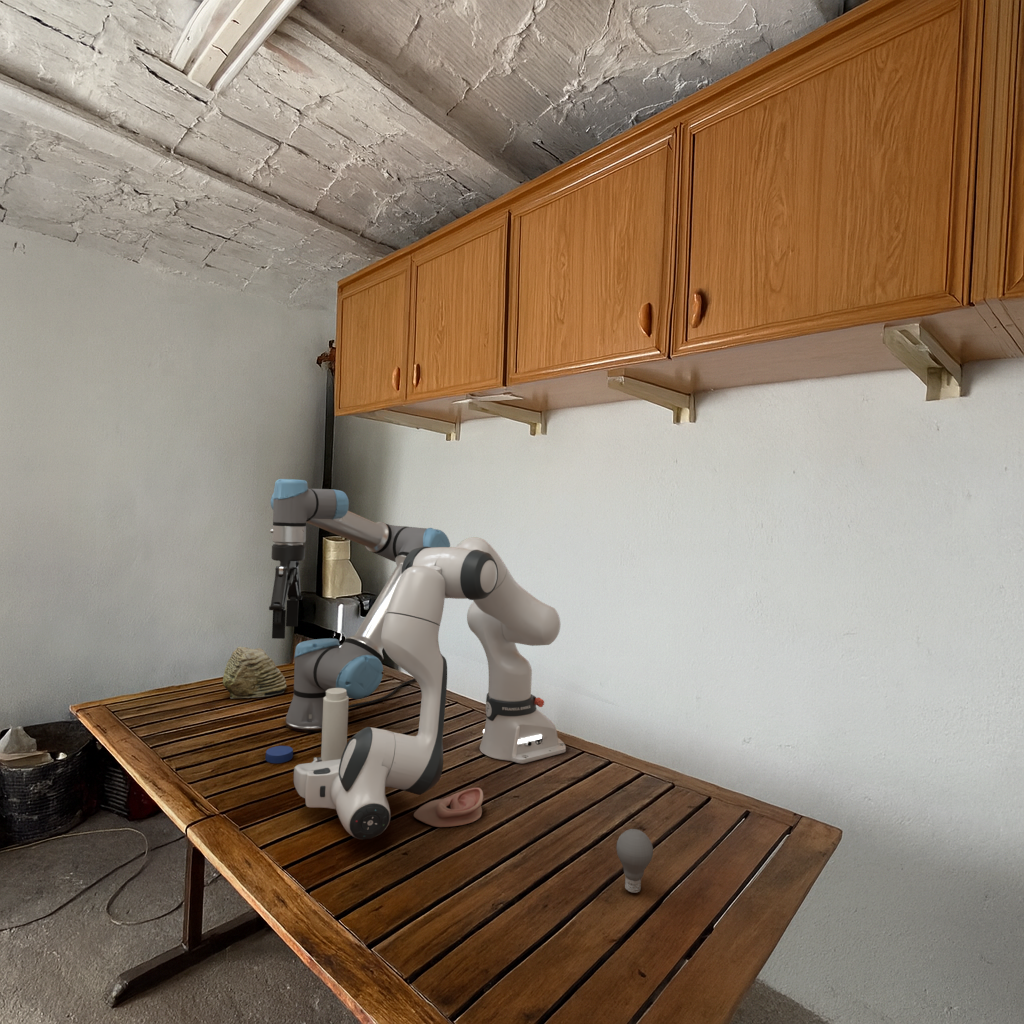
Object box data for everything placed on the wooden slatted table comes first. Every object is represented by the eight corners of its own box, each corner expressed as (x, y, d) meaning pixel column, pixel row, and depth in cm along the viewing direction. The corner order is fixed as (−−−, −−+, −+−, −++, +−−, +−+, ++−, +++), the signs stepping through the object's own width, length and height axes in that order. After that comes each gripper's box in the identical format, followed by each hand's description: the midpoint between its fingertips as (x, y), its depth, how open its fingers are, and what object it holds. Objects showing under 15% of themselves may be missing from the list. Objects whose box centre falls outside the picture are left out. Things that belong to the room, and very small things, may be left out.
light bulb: (610, 879, 108) (613, 822, 108) (644, 879, 109) (647, 822, 109) (619, 902, 102) (622, 840, 102) (655, 901, 103) (658, 840, 103)
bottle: (347, 770, 147) (350, 687, 147) (343, 780, 142) (347, 694, 141) (322, 770, 147) (325, 686, 146) (318, 780, 141) (321, 694, 141)
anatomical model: (408, 802, 124) (427, 778, 135) (407, 822, 124) (427, 796, 136) (473, 812, 122) (488, 786, 133) (473, 832, 122) (487, 805, 133)
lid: (267, 765, 148) (267, 757, 148) (263, 755, 153) (264, 747, 153) (294, 761, 151) (295, 753, 151) (290, 751, 156) (290, 744, 156)
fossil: (218, 695, 195) (220, 647, 195) (278, 685, 208) (279, 640, 207) (228, 703, 189) (230, 653, 188) (289, 692, 201) (290, 645, 201)
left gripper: (284, 539, 163) (281, 621, 164) (257, 547, 139) (254, 643, 139) (314, 540, 164) (311, 622, 165) (293, 548, 140) (289, 644, 140)
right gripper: (404, 761, 129) (387, 737, 142) (299, 775, 120) (291, 749, 133) (402, 792, 129) (386, 765, 142) (298, 808, 120) (289, 778, 133)
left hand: (285, 632), depth 152 cm, fingers open, 13 cm apart
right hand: (339, 757), depth 137 cm, fingers open, 8 cm apart
